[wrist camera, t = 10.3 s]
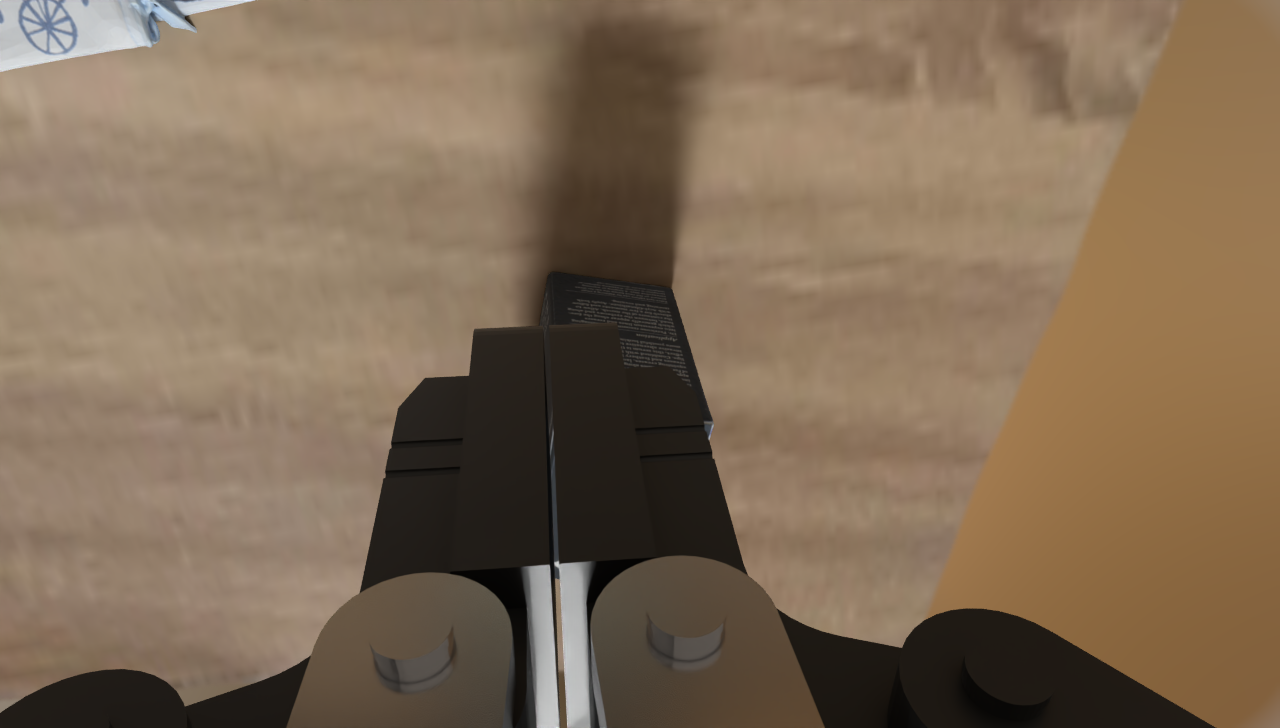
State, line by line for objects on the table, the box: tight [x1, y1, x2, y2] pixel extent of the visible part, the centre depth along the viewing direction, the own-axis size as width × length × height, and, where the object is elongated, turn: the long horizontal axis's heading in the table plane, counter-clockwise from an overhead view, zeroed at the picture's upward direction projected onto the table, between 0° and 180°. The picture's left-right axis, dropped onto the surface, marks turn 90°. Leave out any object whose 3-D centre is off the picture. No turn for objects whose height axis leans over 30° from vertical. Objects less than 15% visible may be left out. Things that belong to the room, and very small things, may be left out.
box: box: [539, 272, 714, 579], centre depth 37 cm, size 8×6×11 cm
